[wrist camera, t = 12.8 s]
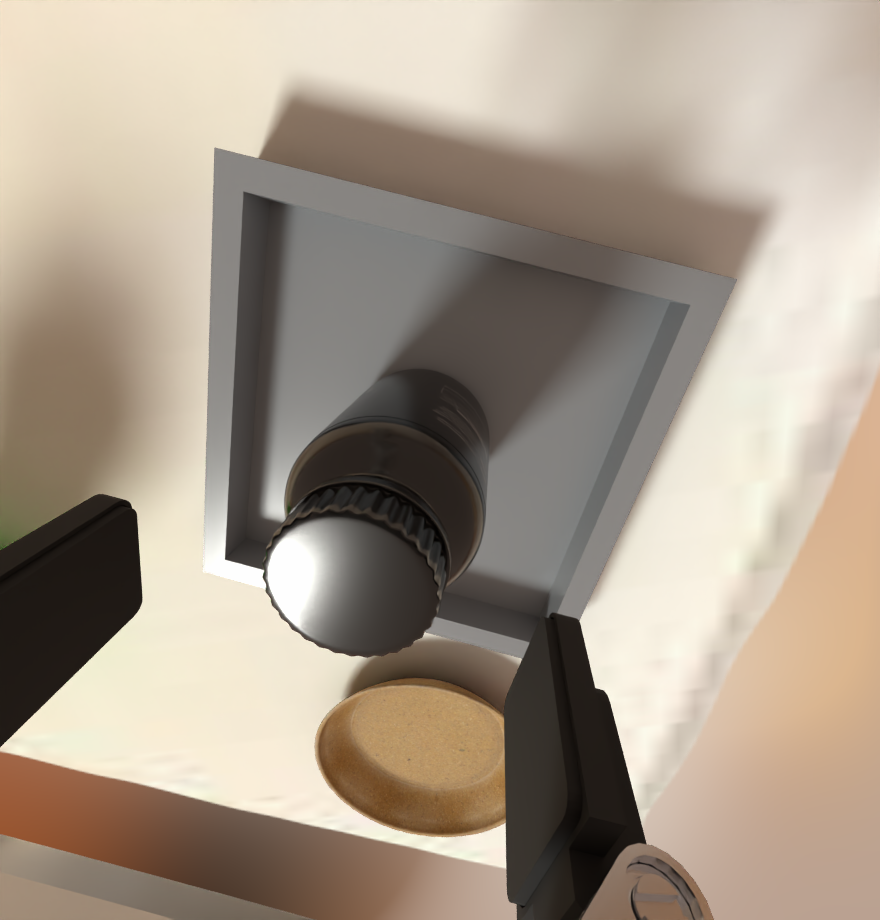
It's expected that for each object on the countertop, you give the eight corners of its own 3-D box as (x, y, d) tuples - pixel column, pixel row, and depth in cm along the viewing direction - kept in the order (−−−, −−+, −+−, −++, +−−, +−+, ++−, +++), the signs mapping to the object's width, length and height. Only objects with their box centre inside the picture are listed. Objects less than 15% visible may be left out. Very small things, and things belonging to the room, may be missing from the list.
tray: (254, 165, 20) (214, 147, 17) (702, 279, 19) (737, 279, 16) (232, 542, 27) (203, 571, 25) (551, 628, 27) (557, 668, 24)
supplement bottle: (344, 370, 22) (189, 467, 11) (486, 361, 21) (476, 457, 10) (365, 498, 24) (256, 683, 13) (492, 494, 23) (490, 691, 12)
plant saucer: (546, 667, 29) (550, 703, 26) (521, 813, 34) (523, 853, 32) (321, 640, 30) (306, 671, 28) (333, 784, 36) (321, 821, 33)
